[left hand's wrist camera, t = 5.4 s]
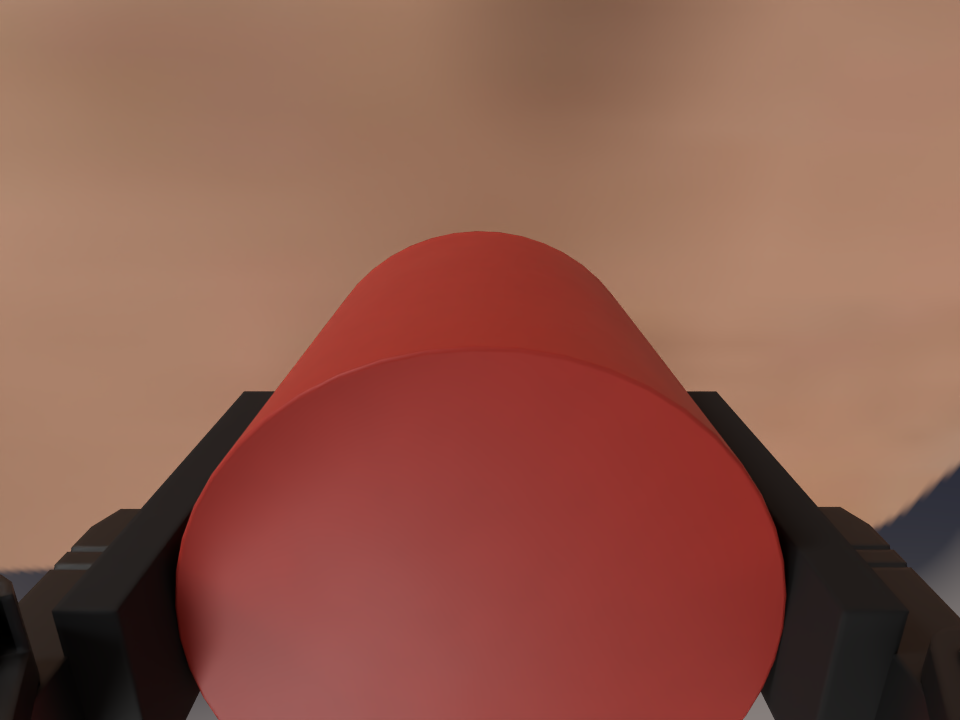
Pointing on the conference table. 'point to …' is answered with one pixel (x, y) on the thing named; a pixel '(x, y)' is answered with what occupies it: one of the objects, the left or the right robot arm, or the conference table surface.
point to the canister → (480, 515)
